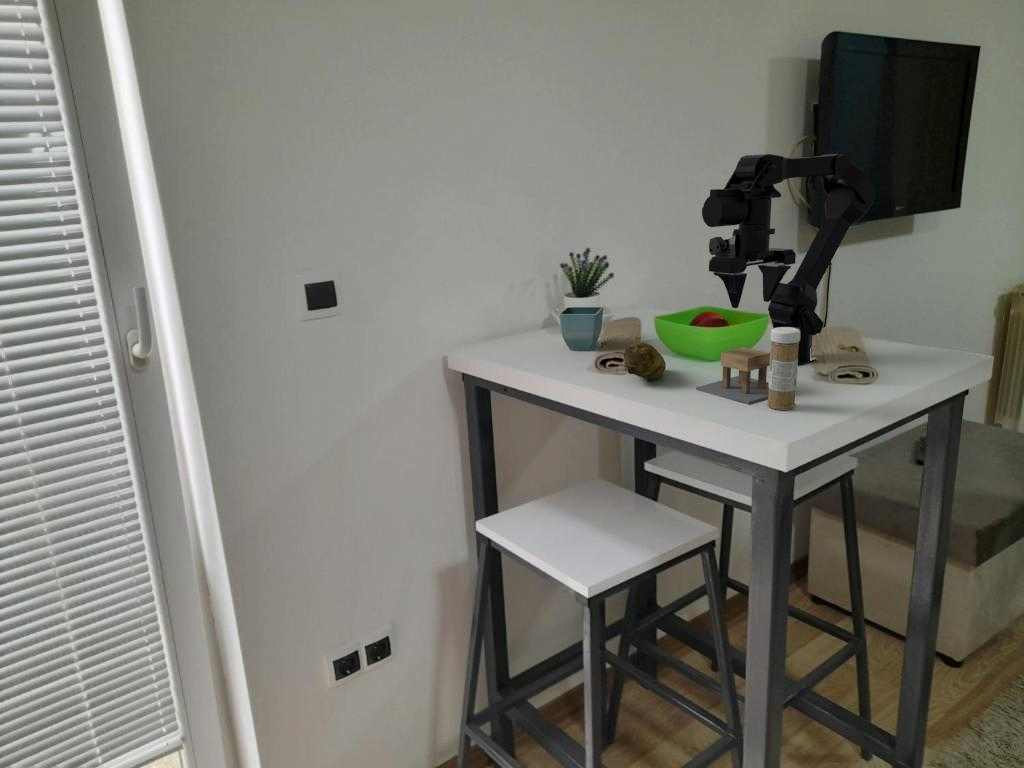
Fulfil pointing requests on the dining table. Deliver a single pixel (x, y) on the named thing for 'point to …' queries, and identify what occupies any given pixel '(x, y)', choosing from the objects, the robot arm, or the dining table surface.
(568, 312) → the flower pot
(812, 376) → the dining table surface
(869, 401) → the dining table surface
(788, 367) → the spice jar
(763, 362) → the stool
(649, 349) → the potato
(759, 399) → the mat
